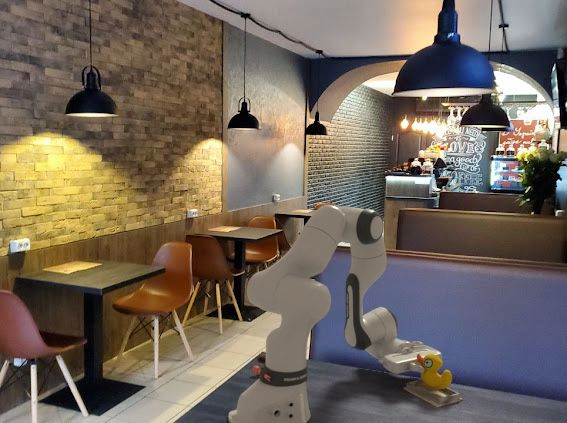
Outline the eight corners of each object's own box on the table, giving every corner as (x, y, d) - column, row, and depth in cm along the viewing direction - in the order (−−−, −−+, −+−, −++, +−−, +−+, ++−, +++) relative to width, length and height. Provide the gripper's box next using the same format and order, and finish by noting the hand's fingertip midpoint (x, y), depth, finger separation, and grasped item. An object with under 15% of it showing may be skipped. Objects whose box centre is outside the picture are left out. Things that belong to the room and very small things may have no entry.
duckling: (411, 383, 171) (413, 352, 170) (418, 378, 175) (421, 347, 174) (446, 395, 164) (449, 363, 163) (453, 389, 168) (456, 358, 167)
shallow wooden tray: (437, 407, 161) (437, 400, 160) (403, 388, 173) (403, 382, 173) (463, 400, 166) (463, 393, 166) (427, 382, 178) (428, 376, 178)
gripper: (375, 349, 176) (405, 364, 164) (423, 340, 186) (455, 353, 174) (374, 369, 177) (404, 385, 165) (422, 358, 187) (454, 373, 175)
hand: (431, 368), depth 170 cm, fingers closed on duckling, 4 cm apart
